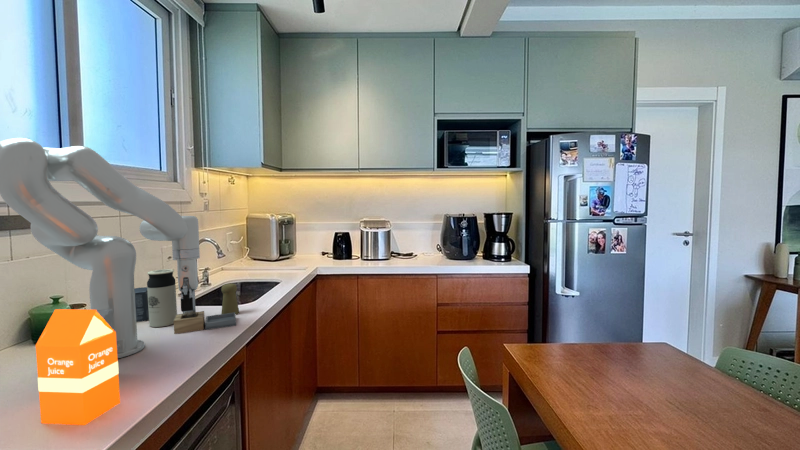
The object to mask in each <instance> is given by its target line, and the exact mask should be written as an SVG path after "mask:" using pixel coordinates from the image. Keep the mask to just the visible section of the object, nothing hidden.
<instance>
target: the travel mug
mask: <svg viewBox="0 0 800 450" xmlns="http://www.w3.org/2000/svg"><path fill="white" fill-rule="evenodd" d="M174 272H175V270H174V269H172V268H170V269H169V268H167V269H156V270H150V271H148V272H147V276H148V280H147V282H146V285H147V286H146V287H147V292H148V310H149V319H148V324H149V327H152V328H163V327H169V326H172V325H174V319H175V317H176V315H177V314H178V310H177V309H178V304H177V288H176V285H177V284H176V278H175V277H174V276H173V275H174Z"/></svg>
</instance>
